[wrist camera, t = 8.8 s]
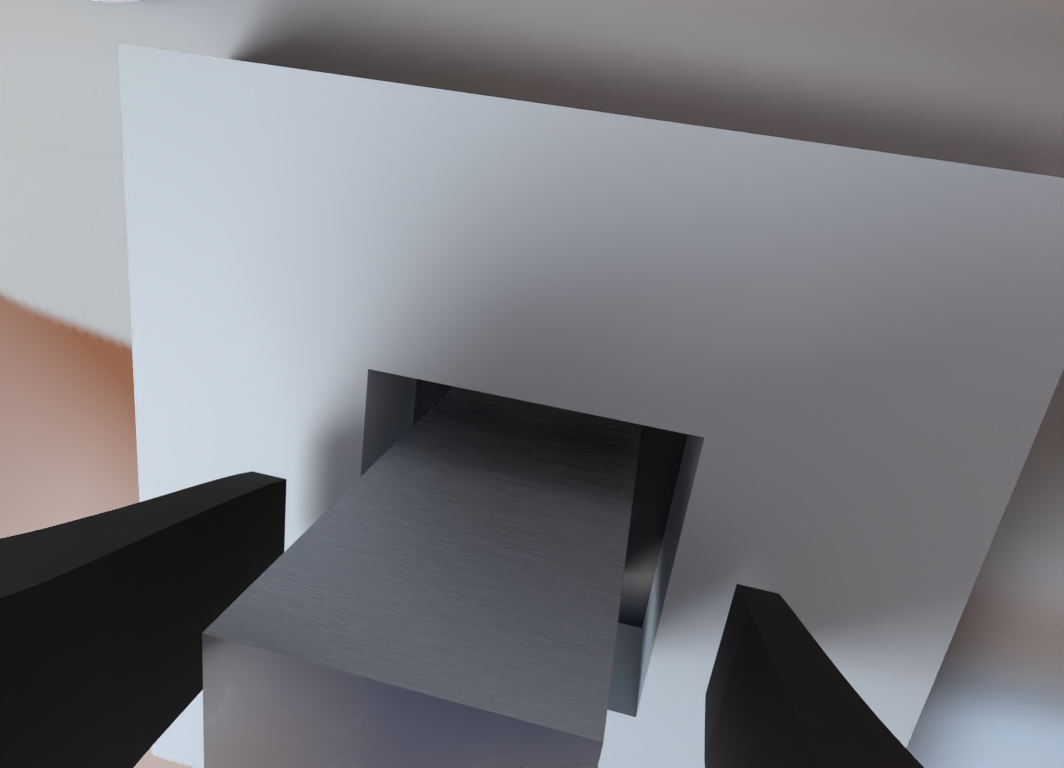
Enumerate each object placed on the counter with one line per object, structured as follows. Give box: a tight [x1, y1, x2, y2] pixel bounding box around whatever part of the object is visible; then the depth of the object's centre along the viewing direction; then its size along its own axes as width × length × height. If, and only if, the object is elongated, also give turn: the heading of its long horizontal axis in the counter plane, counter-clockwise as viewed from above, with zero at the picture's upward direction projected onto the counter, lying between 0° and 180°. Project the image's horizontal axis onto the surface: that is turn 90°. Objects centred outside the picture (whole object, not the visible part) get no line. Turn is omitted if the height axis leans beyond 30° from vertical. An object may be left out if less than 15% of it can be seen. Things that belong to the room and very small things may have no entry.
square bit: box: [202, 386, 642, 768], centre depth 10 cm, size 4×4×8 cm
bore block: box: [118, 43, 1064, 768], centre depth 13 cm, size 14×14×2 cm
